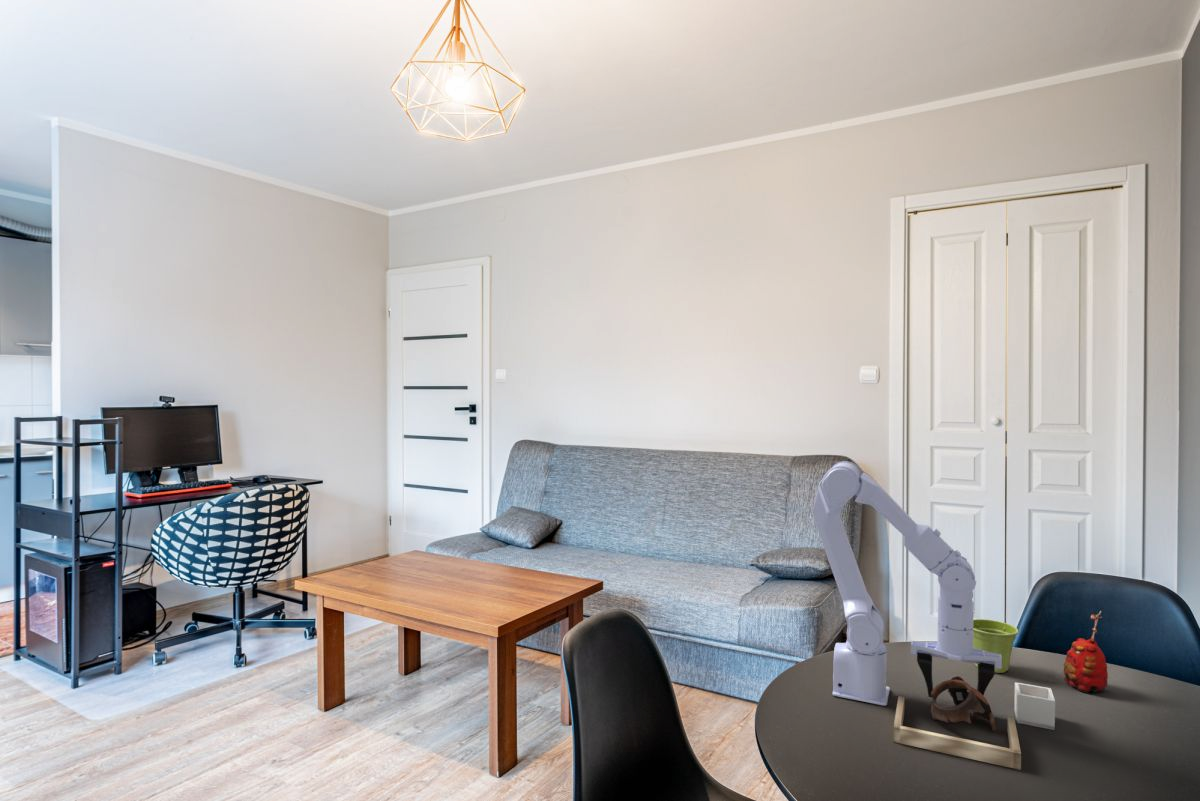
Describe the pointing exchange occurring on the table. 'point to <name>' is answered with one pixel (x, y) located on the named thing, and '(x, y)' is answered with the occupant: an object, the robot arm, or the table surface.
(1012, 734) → the birch bay
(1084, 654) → the red clay folk toy
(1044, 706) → the white square open box
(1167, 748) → the table surface
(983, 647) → the plant pot
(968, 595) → the robot arm
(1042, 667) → the table surface
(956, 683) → the brown hollow curved piece
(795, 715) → the table surface
